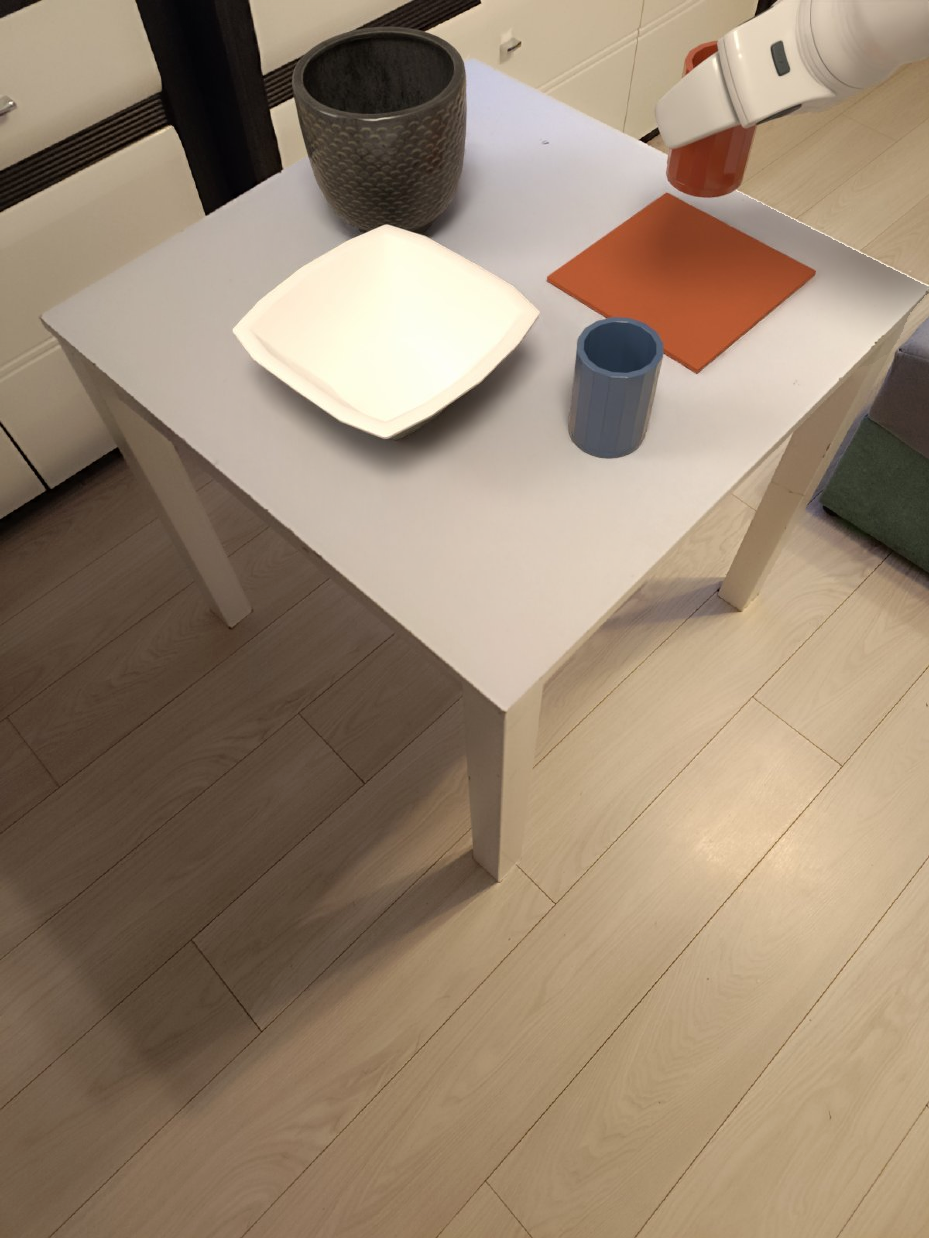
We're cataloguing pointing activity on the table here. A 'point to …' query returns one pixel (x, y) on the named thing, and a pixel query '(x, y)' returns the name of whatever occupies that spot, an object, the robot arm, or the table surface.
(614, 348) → the blue cup
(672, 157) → the rust cup
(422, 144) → the planter
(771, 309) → the rust mat
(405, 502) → the table surface
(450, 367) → the bowl
